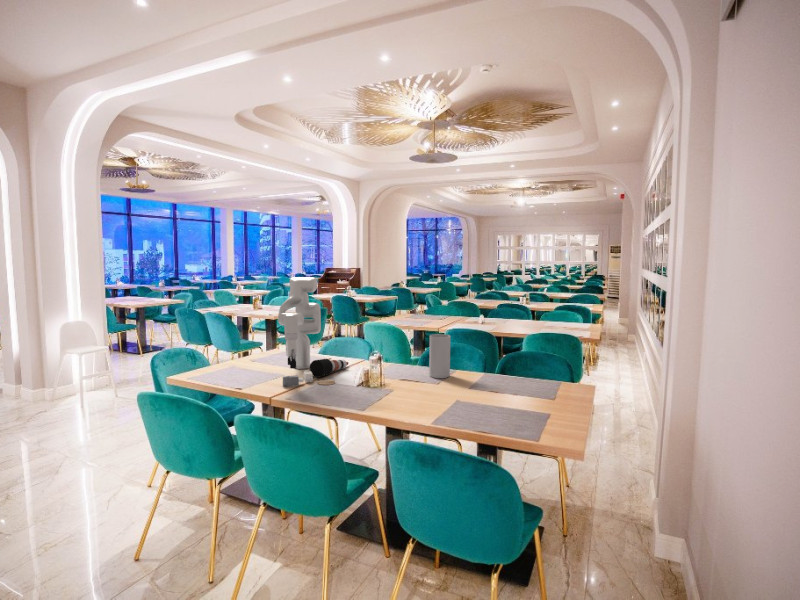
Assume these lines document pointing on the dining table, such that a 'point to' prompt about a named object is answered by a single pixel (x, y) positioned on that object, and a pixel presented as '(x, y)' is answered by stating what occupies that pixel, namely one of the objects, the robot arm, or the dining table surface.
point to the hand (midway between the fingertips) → (291, 366)
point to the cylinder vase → (439, 356)
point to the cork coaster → (326, 382)
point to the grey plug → (291, 380)
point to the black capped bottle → (326, 366)
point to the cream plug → (308, 376)
